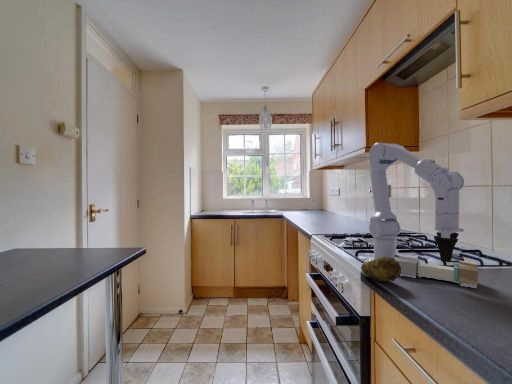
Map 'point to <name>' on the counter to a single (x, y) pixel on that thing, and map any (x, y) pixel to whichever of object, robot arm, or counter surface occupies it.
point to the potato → (382, 269)
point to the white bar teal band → (439, 271)
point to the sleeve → (408, 265)
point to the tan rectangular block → (468, 272)
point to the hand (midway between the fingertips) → (446, 258)
